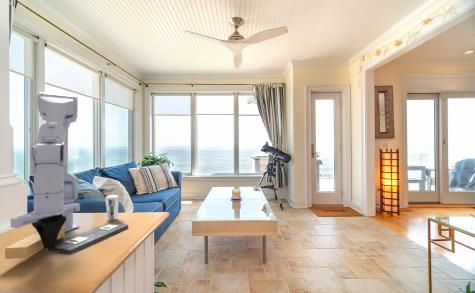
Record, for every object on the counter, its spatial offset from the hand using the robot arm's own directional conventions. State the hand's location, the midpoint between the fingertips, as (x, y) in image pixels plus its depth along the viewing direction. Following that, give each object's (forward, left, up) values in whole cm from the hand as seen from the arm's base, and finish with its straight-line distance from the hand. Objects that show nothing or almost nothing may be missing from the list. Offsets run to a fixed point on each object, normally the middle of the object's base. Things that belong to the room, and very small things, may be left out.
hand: (49, 247), depth 57 cm
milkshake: (-9, +29, -3) cm, 30 cm away
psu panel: (-1, +13, -2) cm, 13 cm away
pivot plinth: (-8, +8, -2) cm, 12 cm away
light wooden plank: (-5, +2, 0) cm, 6 cm away
